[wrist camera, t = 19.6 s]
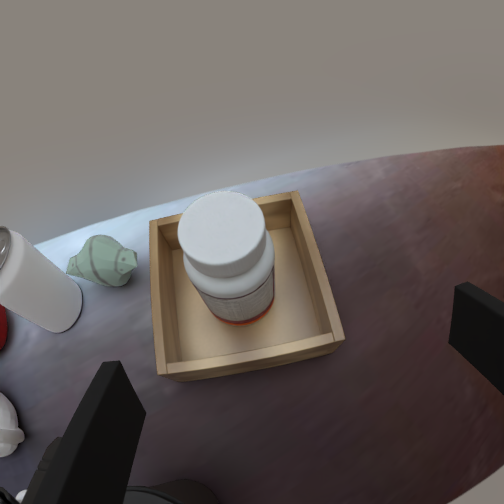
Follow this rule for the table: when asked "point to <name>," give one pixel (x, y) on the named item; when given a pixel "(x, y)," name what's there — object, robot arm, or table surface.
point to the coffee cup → (170, 493)
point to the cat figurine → (8, 427)
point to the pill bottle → (229, 256)
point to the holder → (255, 335)
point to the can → (36, 285)
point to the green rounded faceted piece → (103, 262)
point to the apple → (3, 326)
